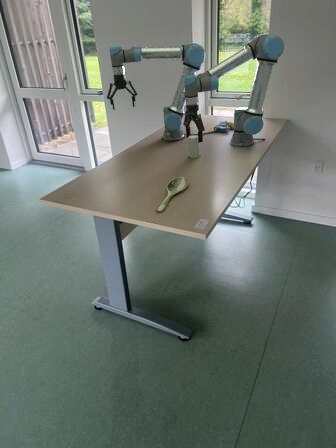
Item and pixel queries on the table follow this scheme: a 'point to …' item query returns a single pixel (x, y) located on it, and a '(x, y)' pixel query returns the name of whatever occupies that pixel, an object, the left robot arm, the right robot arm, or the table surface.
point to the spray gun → (223, 126)
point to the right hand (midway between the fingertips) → (194, 139)
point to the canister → (193, 146)
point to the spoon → (174, 190)
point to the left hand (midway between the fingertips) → (123, 108)
